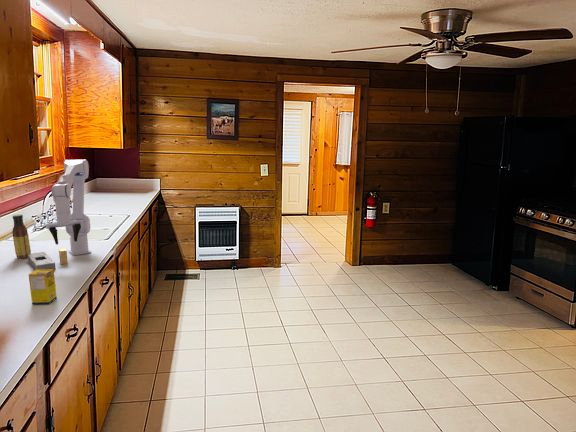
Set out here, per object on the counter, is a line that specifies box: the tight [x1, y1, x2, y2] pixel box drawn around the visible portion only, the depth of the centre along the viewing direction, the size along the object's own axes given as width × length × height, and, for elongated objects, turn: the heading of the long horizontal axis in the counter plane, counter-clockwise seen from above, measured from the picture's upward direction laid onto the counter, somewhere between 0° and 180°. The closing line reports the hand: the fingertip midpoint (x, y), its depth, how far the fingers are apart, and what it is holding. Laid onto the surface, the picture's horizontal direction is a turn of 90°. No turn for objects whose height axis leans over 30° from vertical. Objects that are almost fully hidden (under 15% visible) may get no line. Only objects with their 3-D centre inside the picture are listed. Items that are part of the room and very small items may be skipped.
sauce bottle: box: [12, 214, 32, 260], centre depth 223 cm, size 7×6×20 cm
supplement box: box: [28, 269, 57, 305], centre depth 168 cm, size 6×6×11 cm
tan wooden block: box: [58, 248, 69, 265], centre depth 214 cm, size 4×2×6 cm, turn 37°
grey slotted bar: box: [26, 251, 57, 271], centre depth 212 cm, size 22×7×3 cm, turn 37°
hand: (66, 242), depth 212 cm, fingers open, 7 cm apart
